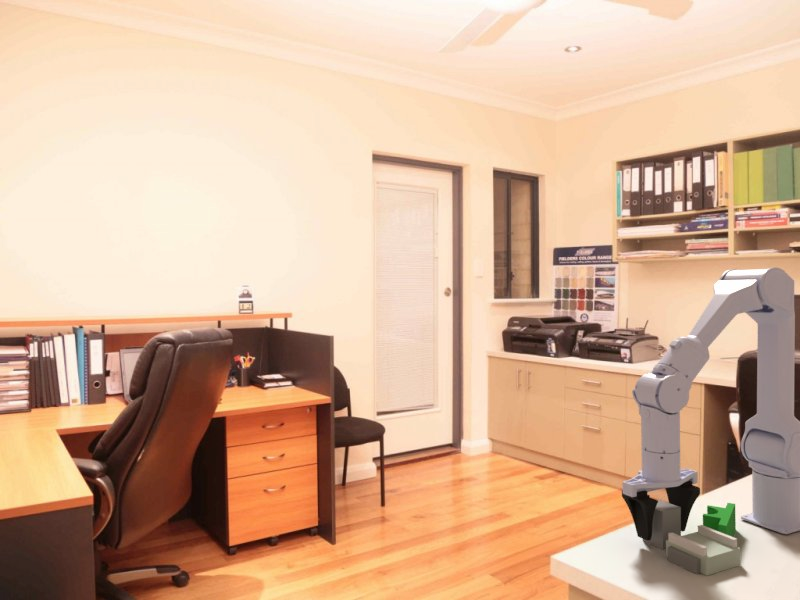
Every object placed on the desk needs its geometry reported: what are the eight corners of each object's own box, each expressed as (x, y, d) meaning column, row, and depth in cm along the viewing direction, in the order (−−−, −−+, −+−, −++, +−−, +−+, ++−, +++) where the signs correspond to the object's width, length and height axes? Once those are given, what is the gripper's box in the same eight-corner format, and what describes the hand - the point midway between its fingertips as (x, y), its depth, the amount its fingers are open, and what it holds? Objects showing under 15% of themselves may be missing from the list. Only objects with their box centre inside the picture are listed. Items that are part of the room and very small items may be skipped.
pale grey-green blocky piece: (698, 547, 96) (698, 523, 96) (740, 565, 89) (740, 539, 89) (662, 557, 92) (661, 533, 92) (702, 576, 86) (702, 550, 86)
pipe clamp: (710, 526, 105) (710, 499, 104) (735, 531, 102) (735, 503, 102) (700, 549, 95) (699, 520, 95) (726, 554, 93) (726, 524, 93)
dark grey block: (654, 533, 101) (654, 497, 101) (680, 544, 97) (680, 507, 97) (636, 537, 100) (636, 501, 100) (662, 549, 95) (662, 511, 95)
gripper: (672, 438, 104) (672, 517, 104) (607, 449, 98) (608, 533, 98) (708, 447, 98) (709, 531, 98) (642, 459, 92) (643, 549, 92)
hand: (661, 533), depth 98 cm, fingers open, 7 cm apart
